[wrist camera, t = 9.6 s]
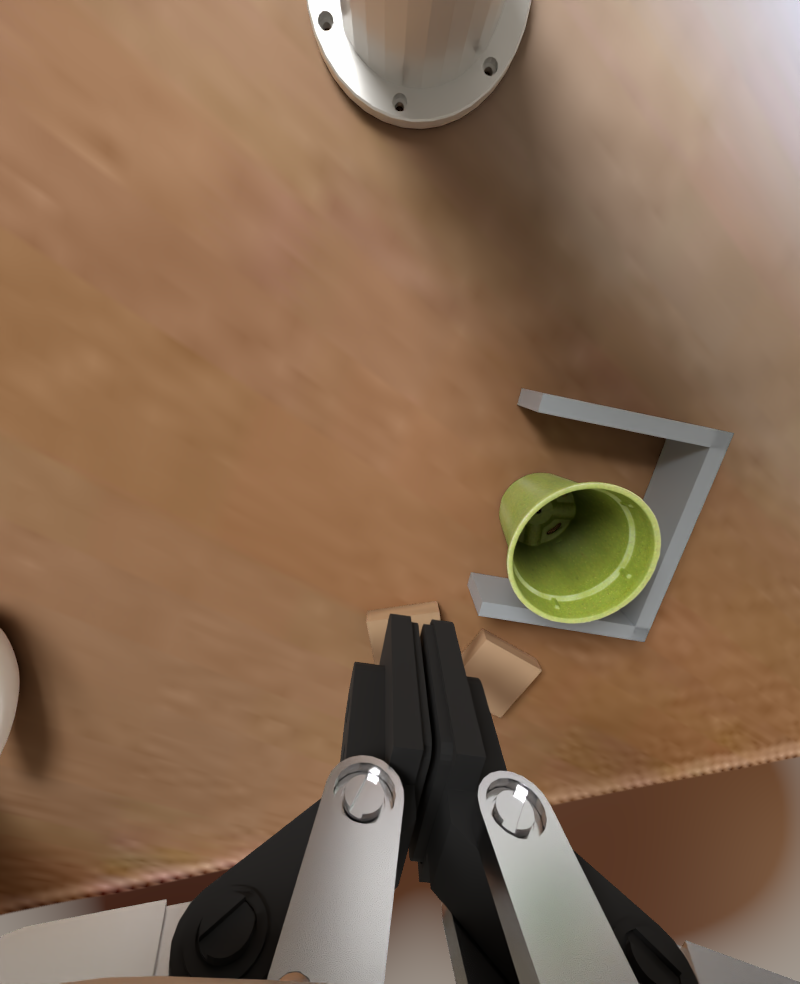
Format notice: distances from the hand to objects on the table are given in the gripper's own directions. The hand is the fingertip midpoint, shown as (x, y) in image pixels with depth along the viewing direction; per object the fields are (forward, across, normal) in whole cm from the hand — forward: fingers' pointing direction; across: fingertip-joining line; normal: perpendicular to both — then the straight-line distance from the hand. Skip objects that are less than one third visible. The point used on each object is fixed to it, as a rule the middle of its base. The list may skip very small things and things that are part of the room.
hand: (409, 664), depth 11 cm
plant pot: (+23, -12, +2) cm, 26 cm away
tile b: (+23, -12, +18) cm, 31 cm away
